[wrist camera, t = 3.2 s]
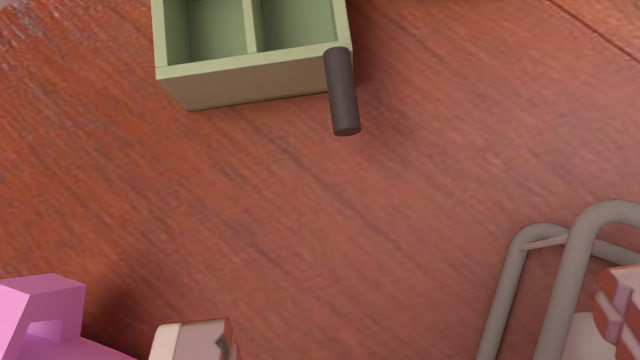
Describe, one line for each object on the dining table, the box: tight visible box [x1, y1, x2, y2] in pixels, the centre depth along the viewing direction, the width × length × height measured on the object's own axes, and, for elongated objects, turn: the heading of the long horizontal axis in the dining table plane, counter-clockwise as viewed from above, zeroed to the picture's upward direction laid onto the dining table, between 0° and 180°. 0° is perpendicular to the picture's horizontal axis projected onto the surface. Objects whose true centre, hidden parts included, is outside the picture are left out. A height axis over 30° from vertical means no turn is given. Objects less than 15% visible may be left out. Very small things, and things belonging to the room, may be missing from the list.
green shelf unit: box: [151, 0, 361, 136], centre depth 34 cm, size 7×14×12 cm
